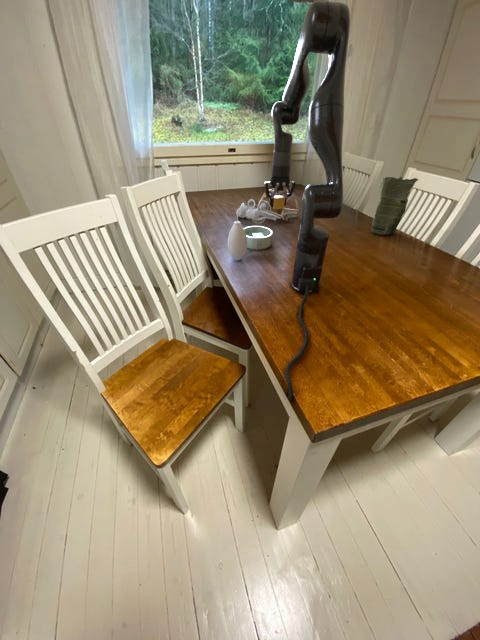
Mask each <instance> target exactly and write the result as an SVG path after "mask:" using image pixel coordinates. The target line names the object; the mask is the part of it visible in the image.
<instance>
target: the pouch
mask: <svg viewBox="0 0 480 640" xmlns="http://www.w3.org/2000/svg"><path fill="white" fill-rule="evenodd" d="M418 181H419V178H417V177H414V178H410V179H409V178H405V179H404V178H403V176H400V177H399V178H396V177H394V176H387V177H383V178H382V182H381V183H380V194H379V196H380V197H379V201H378V203H377V206H376V210H375V214H374V217H373V218H372V224H371V230H370V232H371V233H373V234H375V235H379V236H388V235H394V234H395V232H396V229H397V228H398V226H399V225H400V223H401V221H402V219H403V215H404V214H405V213H406V209H407V206H408V205H407V204H408V202H409V198H408V197H409V194H410V193H411V189H412V188H413V187H414V186H415V184H416V183H417V182H418Z"/></svg>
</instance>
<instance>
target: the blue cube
mask: <svg viewBox="0 0 480 640" xmlns="http://www.w3.org/2000/svg"><path fill="white" fill-rule="evenodd" d="M252 237H257V238H258V237H264V236H263V234H262V233H252Z"/></svg>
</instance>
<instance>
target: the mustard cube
mask: <svg viewBox="0 0 480 640" xmlns="http://www.w3.org/2000/svg"><path fill="white" fill-rule="evenodd" d="M284 203H285V197H284V196H283V194H282V195H275V196H274V205H273V209H284ZM284 210H285V209H284Z"/></svg>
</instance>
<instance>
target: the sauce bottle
mask: <svg viewBox="0 0 480 640" xmlns="http://www.w3.org/2000/svg"><path fill="white" fill-rule="evenodd" d="M244 228H245V227H243V225H242V222H241V221H239V216H238V215H236V220H235V221H234V222H233V225H232V226H231V228H230V230H229V232H228V237H227V251H228V254H229V255H230V257H231V259H233V260H235V261H240V260H242V259H243V258H245V256H246V254H247V251H248V248H247V237H246V233H245V231H244Z"/></svg>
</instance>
